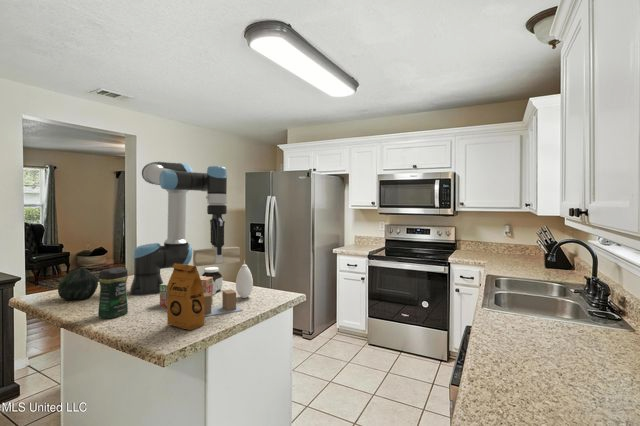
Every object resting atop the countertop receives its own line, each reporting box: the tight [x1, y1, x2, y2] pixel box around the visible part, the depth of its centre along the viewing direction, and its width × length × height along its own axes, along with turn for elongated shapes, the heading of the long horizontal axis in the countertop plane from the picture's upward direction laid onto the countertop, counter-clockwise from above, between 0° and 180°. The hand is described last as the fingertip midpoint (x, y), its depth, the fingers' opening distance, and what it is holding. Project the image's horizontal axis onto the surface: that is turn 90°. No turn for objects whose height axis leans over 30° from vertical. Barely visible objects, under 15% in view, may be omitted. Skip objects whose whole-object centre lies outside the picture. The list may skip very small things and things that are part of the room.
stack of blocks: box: [159, 275, 214, 307], centre depth 143 cm, size 21×6×12 cm, turn 81°
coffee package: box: [166, 264, 205, 331], centre depth 119 cm, size 10×12×22 cm
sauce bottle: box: [235, 259, 254, 299], centre depth 155 cm, size 8×8×18 cm
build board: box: [204, 289, 243, 318], centre depth 136 cm, size 10×18×7 cm, turn 121°
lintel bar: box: [192, 246, 241, 267], centre depth 135 cm, size 4×18×6 cm, turn 130°
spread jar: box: [201, 266, 223, 295], centre depth 164 cm, size 12×11×12 cm
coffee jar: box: [97, 266, 129, 320], centre depth 129 cm, size 10×8×19 cm
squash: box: [57, 267, 99, 301], centre depth 152 cm, size 14×15×15 cm
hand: (217, 261), depth 135 cm, fingers closed on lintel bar, 4 cm apart
